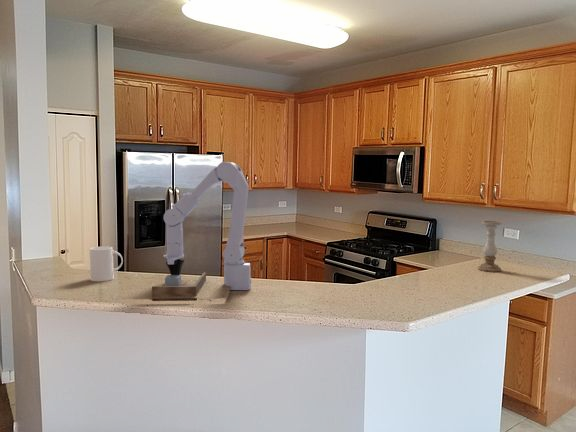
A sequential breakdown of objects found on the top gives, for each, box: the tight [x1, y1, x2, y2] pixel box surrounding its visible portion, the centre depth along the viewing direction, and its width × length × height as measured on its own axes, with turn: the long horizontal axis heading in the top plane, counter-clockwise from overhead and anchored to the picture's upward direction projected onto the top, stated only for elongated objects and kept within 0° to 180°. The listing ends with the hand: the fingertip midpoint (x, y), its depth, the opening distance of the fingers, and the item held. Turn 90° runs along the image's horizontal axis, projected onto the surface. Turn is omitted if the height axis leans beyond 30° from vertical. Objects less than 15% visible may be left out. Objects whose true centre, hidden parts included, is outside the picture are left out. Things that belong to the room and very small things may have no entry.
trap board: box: [151, 271, 207, 302], centre depth 153 cm, size 14×21×4 cm, turn 2°
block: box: [164, 274, 182, 286], centre depth 157 cm, size 4×4×3 cm
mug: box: [89, 245, 124, 282], centre depth 172 cm, size 12×8×12 cm
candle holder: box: [477, 220, 502, 273], centre depth 188 cm, size 9×9×20 cm
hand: (175, 280), depth 160 cm, fingers closed
